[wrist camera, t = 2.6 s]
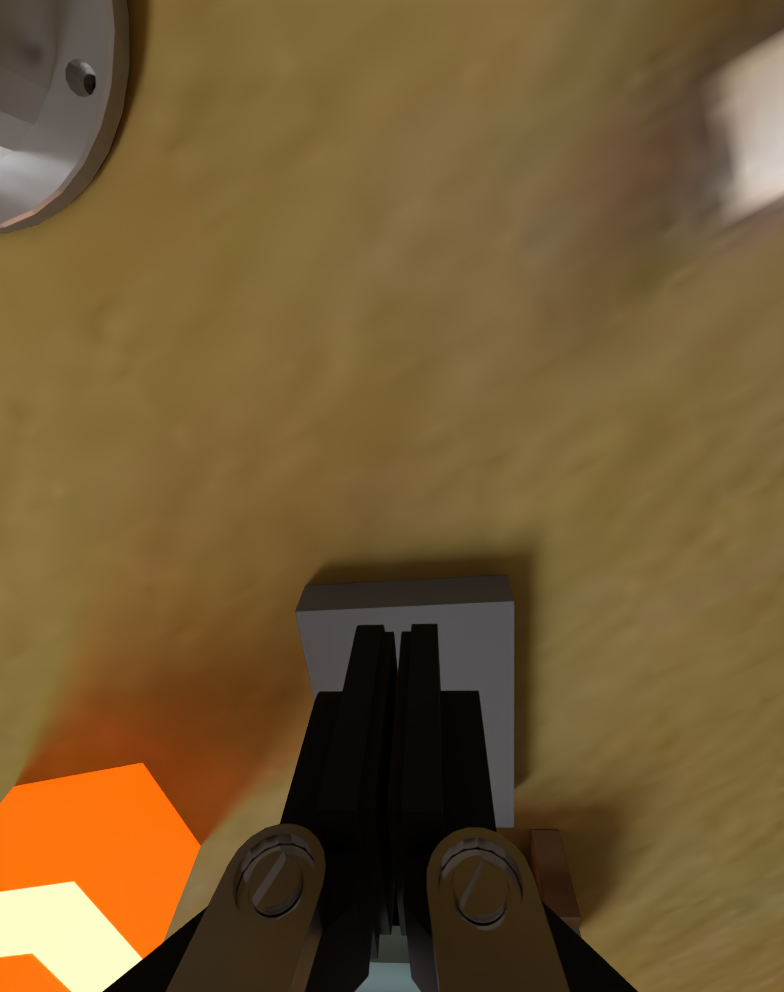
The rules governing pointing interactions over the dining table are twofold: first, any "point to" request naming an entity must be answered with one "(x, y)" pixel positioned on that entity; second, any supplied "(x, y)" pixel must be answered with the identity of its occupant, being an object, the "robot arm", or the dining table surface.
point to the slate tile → (462, 648)
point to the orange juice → (87, 878)
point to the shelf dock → (390, 973)
